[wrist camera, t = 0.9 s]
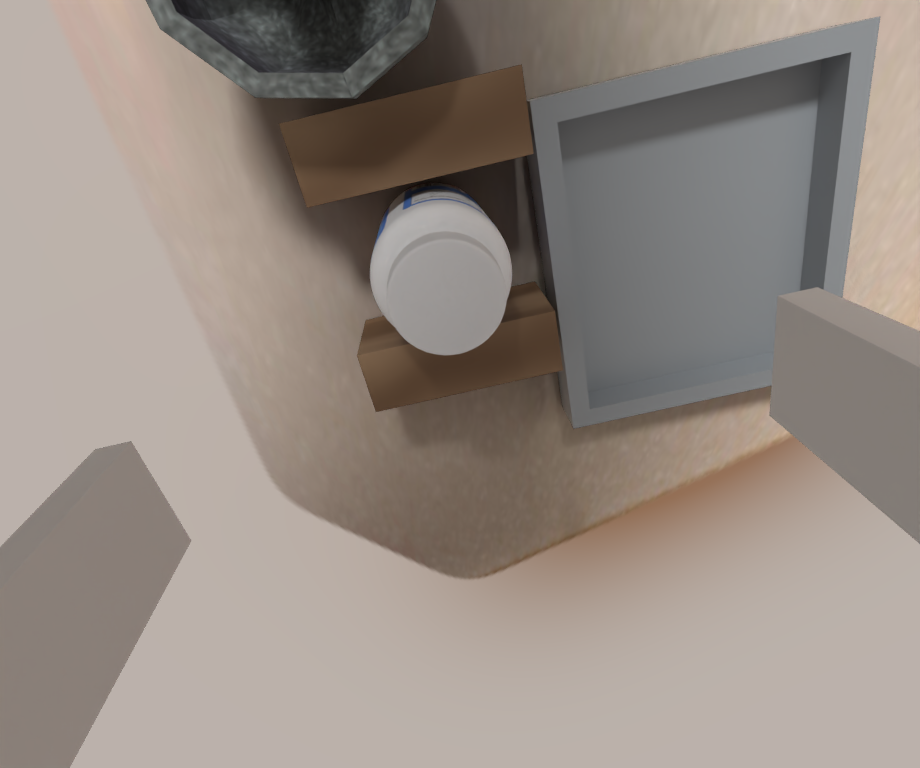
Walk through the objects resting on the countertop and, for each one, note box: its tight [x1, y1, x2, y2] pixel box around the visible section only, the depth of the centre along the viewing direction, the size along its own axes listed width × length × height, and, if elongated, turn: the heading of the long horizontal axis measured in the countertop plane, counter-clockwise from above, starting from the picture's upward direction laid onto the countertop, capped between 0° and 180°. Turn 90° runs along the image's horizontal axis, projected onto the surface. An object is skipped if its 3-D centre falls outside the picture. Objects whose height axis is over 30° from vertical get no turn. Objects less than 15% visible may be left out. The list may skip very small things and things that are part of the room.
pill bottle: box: [370, 183, 512, 355], centre depth 22 cm, size 6×5×10 cm
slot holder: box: [279, 64, 563, 412], centre depth 24 cm, size 12×9×4 cm
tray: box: [526, 17, 880, 429], centre depth 26 cm, size 16×14×2 cm
